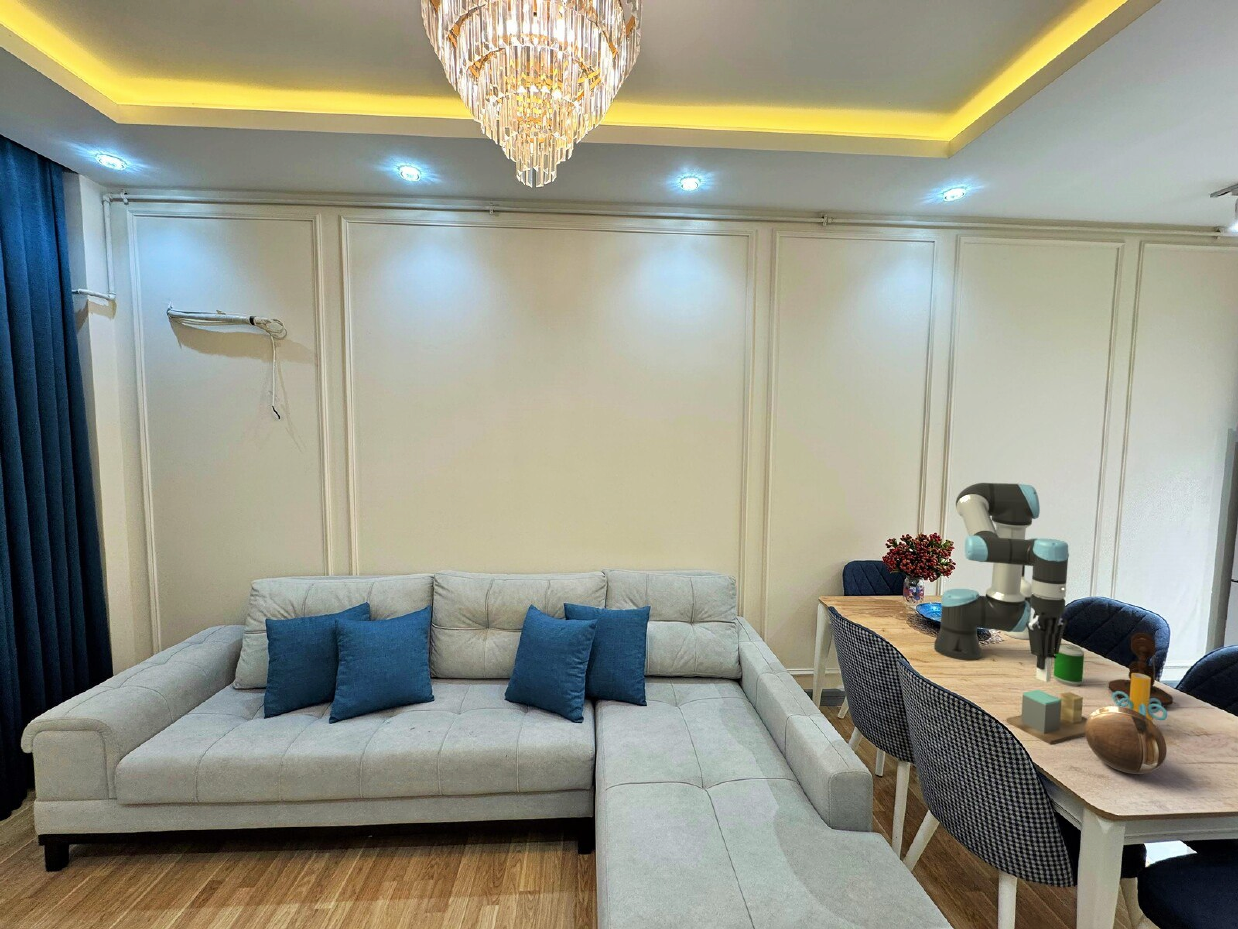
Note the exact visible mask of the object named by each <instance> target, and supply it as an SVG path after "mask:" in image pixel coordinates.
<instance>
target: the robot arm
mask: <svg viewBox="0 0 1238 929" xmlns="http://www.w3.org/2000/svg"><path fill="white" fill-rule="evenodd" d="M1040 507H1041V506H1040V501H1039V495H1038V493H1037V491H1036V489H1035V487H1034V486H1032V485H1031V484H1022V483H1006V482H1005V483H1004V482H1003V483H1001V482H998V483H997V482H978V483H974V484H971V485H970V486H967V487H966V488H964V489H963V490H962V491H960V492H959V494H958V495H957V497H956V500H955V508H956V511H957V513H958V514H959V515H960V516H961V517H962V519H963V522H964V525H965V528H966V532H967V536H966V538H965V541H964V553H965V555H964V556H965V558H966V559H967V560H969V561H973V562H979V563H991V564H992V574H991V575H992V576H991V585H990V586H991V587H989V588H987V589H986V590H985V595H980V593H979V591H977V590H975V589H968V588H952V589H948V590H945V591H944V592H943V593H942V595H941V596H942V597H941V603H940V606H941V611H940V612H941V613H940V614H941V615H940V629H939V632H938V633H937V635H936V638H935V640H934V646H933V648H934V650H935V651H936V652H937V653H939V654H940V655H943V656H946V657H949V658H952V659H956V660H957V659H958V660H965V661H974V660H980V659H981V658H982V648H981V645H980V642H979V638H978V629H979V628H980V629H985V630H993V631H1001V632H1004V631H1007V632H1022V631H1024V630H1025V629H1026V627H1027V628H1028V633H1029V639H1028V641H1029V648H1030V654H1031V655H1033V656H1036V674H1035V675H1036V676H1035V679H1037V680H1039V681H1042V682H1045V683H1048V682H1051V679H1052V678H1051V677H1052V664H1053V659H1056V658H1057V656H1055V654H1058V653H1059V649H1060V645H1061V643H1062V639H1063V635H1064V630H1065V627H1066V625H1067V622H1068V621H1067V619H1065V618H1062V616H1061V615H1062V614H1063V613H1065V612H1066V600H1065V597H1066V593H1067V578H1068V566H1069V564H1068V563H1069V557H1070V554H1069V544H1068V543H1067V542H1066V541H1065V540H1060V539H1057V538H1056V539H1054V538H1037V537H1032V538H1028V539H1026V532H1027V530H1026V529H1027V528H1029V527H1030V526H1032V525H1033V524H1032V522H1033V520H1037V519H1038V518H1039V517H1040V513H1041V512H1040V511H1041V510H1040ZM994 524H995V525H994ZM995 526H996V527H995ZM1023 565H1025V567H1026V566H1028V567H1032V575H1031V592H1032V595H1031V609H1033V610H1034V613H1033V616H1032V620H1030V622H1029V618H1030V605H1029V603H1028V601H1026V600H1025V597H1024V595H1023V594H1022V593H1021V592H1020V588H1021V577H1022V566H1023Z"/></svg>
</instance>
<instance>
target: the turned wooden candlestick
mask: <svg viewBox="0 0 1238 929" xmlns="http://www.w3.org/2000/svg"><path fill="white" fill-rule="evenodd" d="M1130 642H1131V643H1130V650H1131V651H1132V653H1133V654H1135V655H1136V657H1137V658H1138V661H1133V662H1130V664H1129V665H1128V670H1129V671H1128V678H1129V679H1121V678H1120V679H1114V680H1113V679H1112V680H1111V681H1109V682H1108V683H1107V684H1108V686H1107V688H1108V690H1109V691H1110V692H1112V694H1113V693H1114V692H1116V691H1121V692H1124V693H1125V694H1127V695H1128V696H1129V698H1130V685H1131V674H1132V673H1139V674H1143V675H1146V676H1149V677H1150V678H1151V683H1150V697H1149V699H1151V698H1156V699H1158V700H1159V701H1160V702H1161V706H1162V707H1163V708H1165V707H1166V706H1171V705H1173V703H1174V697H1173V696H1172V695H1171V694H1170V693H1168V692H1167V691H1166V690H1164V689H1161V687H1157V686H1155V685H1154V684H1155V681H1156V668H1155V667H1156V666H1155V659H1154V656H1155V654H1156V653H1157V647H1156V641H1155V639H1154V638H1153V636H1151V635H1149V634H1147V633H1144V632H1137V633H1134V634H1133V635H1132V636H1131V638H1130ZM1151 657H1152V666H1153V668H1152V666H1151V665H1150V664H1148V663H1147V662H1146V661H1147V660H1149V659H1150V658H1151ZM1122 698H1126V697H1125V696H1124V695H1122V694H1117V695H1116V699H1118V700H1120V699H1122ZM1150 704H1157V702H1156V701H1152V702H1151V703H1150ZM1150 704H1149V705H1150ZM1160 710H1161V709H1160ZM1160 710H1159V711H1160ZM1161 711H1162V710H1161Z"/></svg>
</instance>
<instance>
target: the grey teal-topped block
mask: <svg viewBox="0 0 1238 929" xmlns="http://www.w3.org/2000/svg"><path fill="white" fill-rule="evenodd" d="M1061 702H1062V700H1061V699H1060V698H1059V697H1056V696H1055V695H1051V694H1050V693H1048V692H1045V691H1043V690H1040V689H1034V690H1030V691H1025V692H1022V702H1021V715H1022V717H1021V723H1023V724H1025V725H1027V726H1029V727H1031V728H1033V729H1035V730H1037V731H1039V732H1041V733H1043V734H1045V733H1049V732H1053V731H1057V730H1060V718H1061Z"/></svg>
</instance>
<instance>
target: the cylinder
mask: <svg viewBox="0 0 1238 929" xmlns="http://www.w3.org/2000/svg"><path fill="white" fill-rule="evenodd" d="M1150 683H1151V678H1150V677H1149V676H1146V675H1143V674H1139V673H1132V674H1131V685H1130V698H1129V696H1128V695H1127V694H1125V693H1124V692H1121V691H1116V692H1114V693H1113V692H1112V695H1111V696H1112V701H1113V702H1114V703H1115V704H1116V706H1120V707H1125V708H1129V709H1132V710H1134V711H1137V712H1139V713H1141V714H1142V715H1144V716H1145V717H1147V718H1148V719H1150V720H1151V721H1152V722H1153V719H1154V720H1157V721H1165V720H1166V719H1167V718H1168V712H1167V710H1166V709H1165V707H1162V706H1161V702H1160V701H1159V700H1158V699H1156V698H1151V699H1149V697H1150ZM1117 694H1122V695H1124V696H1125V697H1126V698H1123V697H1121V698H1120V699H1118V698H1117ZM1117 699H1118V700H1117ZM1152 701H1156V702H1157V704H1150V703H1151V702H1152ZM1149 704H1150V705H1149ZM1155 707H1156V708H1155ZM1152 708H1155V709H1152ZM1160 709H1161V711H1162V712H1163V713H1162V714H1163V716H1160V717H1159V716H1157V715H1155V714H1156V713H1159V712H1160ZM1153 723H1154V722H1153Z"/></svg>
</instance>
